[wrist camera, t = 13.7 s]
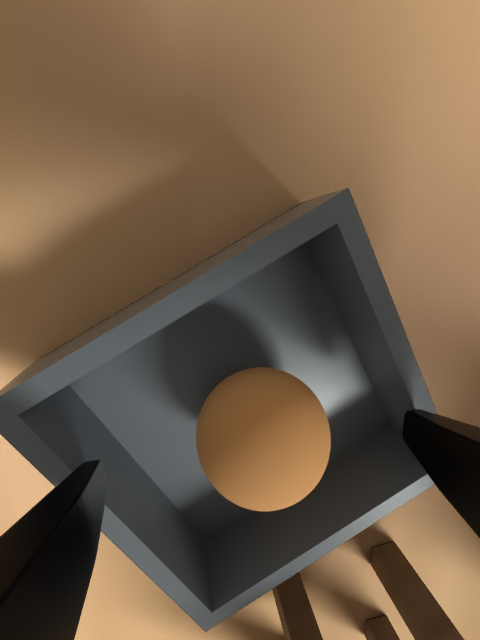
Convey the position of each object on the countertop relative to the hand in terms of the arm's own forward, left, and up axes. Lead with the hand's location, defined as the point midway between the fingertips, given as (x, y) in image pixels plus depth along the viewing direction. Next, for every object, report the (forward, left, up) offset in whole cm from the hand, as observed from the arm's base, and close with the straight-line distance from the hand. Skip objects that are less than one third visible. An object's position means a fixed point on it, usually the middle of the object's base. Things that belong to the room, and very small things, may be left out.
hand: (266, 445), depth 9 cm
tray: (0, 0, -3) cm, 3 cm away
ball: (0, 0, 0) cm, 1 cm away
